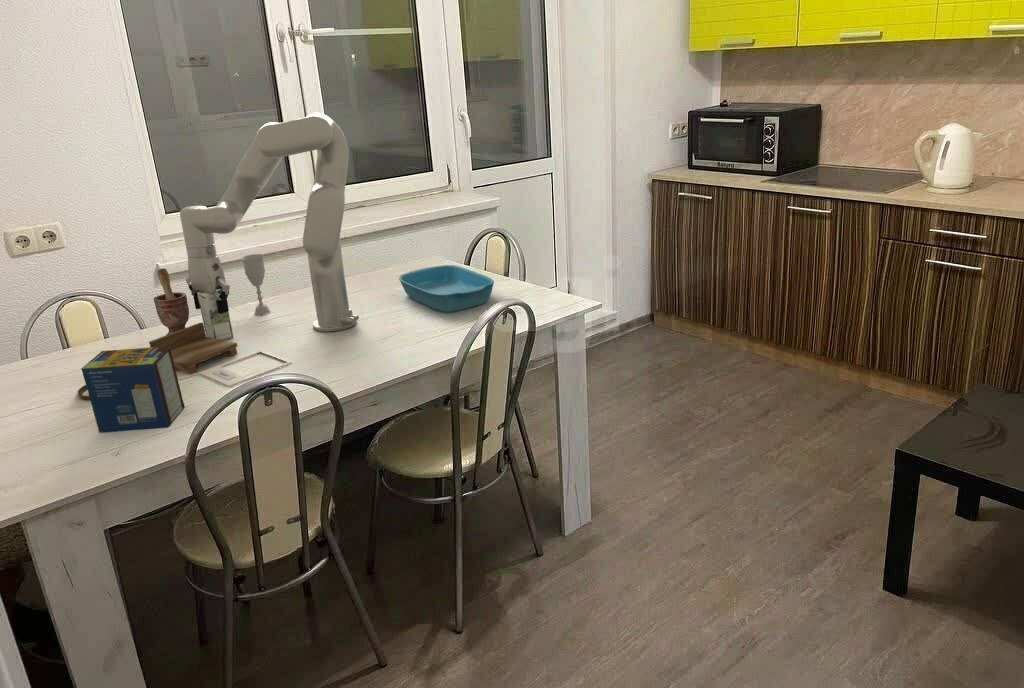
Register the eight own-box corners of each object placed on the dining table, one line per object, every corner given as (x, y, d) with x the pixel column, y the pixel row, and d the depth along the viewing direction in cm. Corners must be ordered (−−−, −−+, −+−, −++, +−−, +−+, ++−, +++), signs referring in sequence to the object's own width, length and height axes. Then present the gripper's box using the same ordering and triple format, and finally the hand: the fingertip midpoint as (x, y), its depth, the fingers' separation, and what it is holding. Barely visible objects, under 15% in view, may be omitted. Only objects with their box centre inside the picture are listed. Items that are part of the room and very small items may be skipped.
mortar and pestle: (153, 339, 223) (137, 273, 216) (180, 330, 229) (166, 265, 222) (172, 346, 216) (156, 278, 209) (200, 337, 222) (186, 271, 215)
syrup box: (225, 333, 224) (215, 286, 219) (234, 337, 220) (224, 289, 215) (206, 339, 220) (196, 291, 215) (215, 343, 216) (205, 294, 211)
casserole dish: (390, 293, 253) (388, 273, 250) (449, 280, 264) (447, 260, 261) (444, 321, 224) (441, 298, 221) (507, 304, 235) (506, 282, 232)
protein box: (118, 412, 176) (101, 350, 171) (185, 407, 177) (170, 345, 171) (97, 433, 167) (79, 368, 161) (169, 428, 167) (153, 362, 161)
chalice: (269, 315, 238) (259, 259, 231) (248, 316, 238) (237, 260, 231) (276, 308, 244) (267, 253, 238) (255, 309, 245) (245, 254, 238)
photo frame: (198, 371, 195) (260, 349, 208) (199, 375, 196) (261, 353, 208) (228, 385, 186) (291, 361, 198) (229, 389, 186) (292, 365, 199)
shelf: (238, 353, 208) (234, 329, 206) (189, 374, 195) (183, 349, 193) (205, 345, 215) (200, 322, 213) (155, 366, 202) (149, 341, 200)
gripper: (233, 251, 210) (243, 310, 216) (192, 245, 218) (203, 302, 224) (210, 257, 204) (221, 318, 210) (169, 251, 212) (181, 309, 218)
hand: (212, 310), depth 217 cm, fingers open, 9 cm apart
